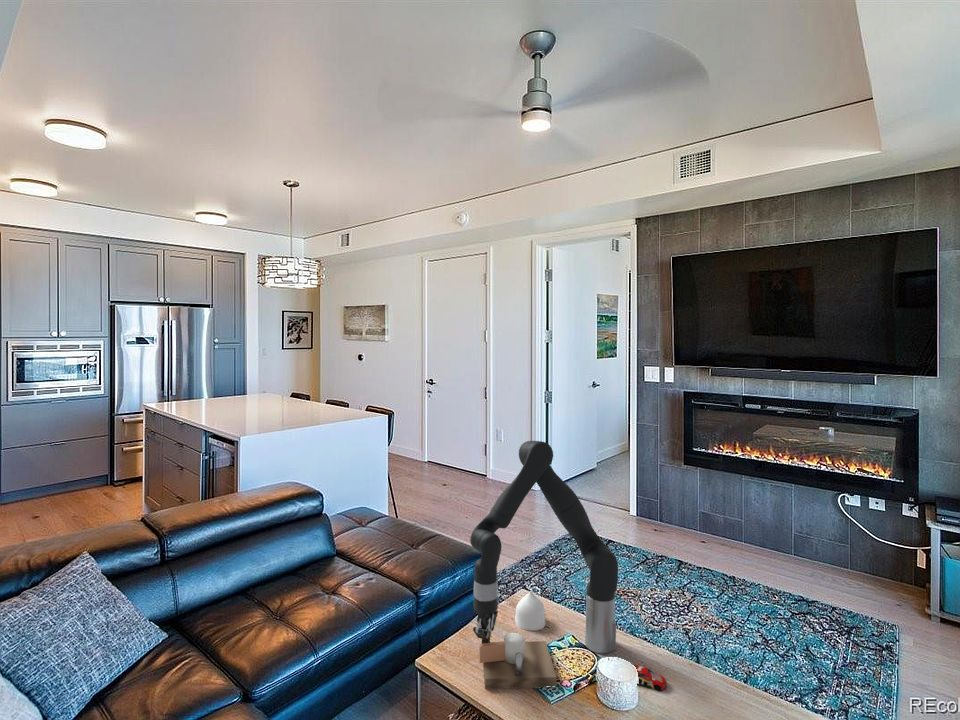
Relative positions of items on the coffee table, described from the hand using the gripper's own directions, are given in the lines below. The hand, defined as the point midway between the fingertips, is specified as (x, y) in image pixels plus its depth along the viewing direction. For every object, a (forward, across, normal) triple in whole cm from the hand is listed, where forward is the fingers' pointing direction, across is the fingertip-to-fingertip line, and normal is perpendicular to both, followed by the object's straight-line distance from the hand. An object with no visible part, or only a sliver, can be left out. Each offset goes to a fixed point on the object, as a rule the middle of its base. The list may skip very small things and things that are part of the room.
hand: (485, 647), depth 159 cm
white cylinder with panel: (+2, 0, +5) cm, 6 cm away
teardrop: (+7, -30, +3) cm, 31 cm away
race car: (+7, -16, +45) cm, 48 cm away
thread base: (+6, -3, +9) cm, 11 cm away
